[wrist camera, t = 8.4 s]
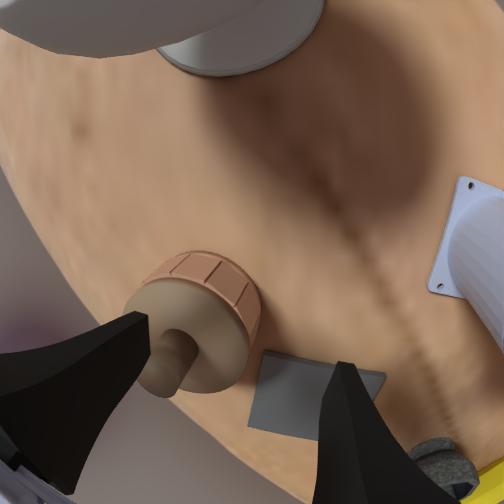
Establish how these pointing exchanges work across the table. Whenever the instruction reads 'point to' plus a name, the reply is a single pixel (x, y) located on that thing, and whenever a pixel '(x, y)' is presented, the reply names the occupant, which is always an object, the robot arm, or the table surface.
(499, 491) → the yellow rounded block
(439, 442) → the mortar and pestle
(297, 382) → the mat
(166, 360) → the lid
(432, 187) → the table surface
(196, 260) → the bowl
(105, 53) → the chalice
